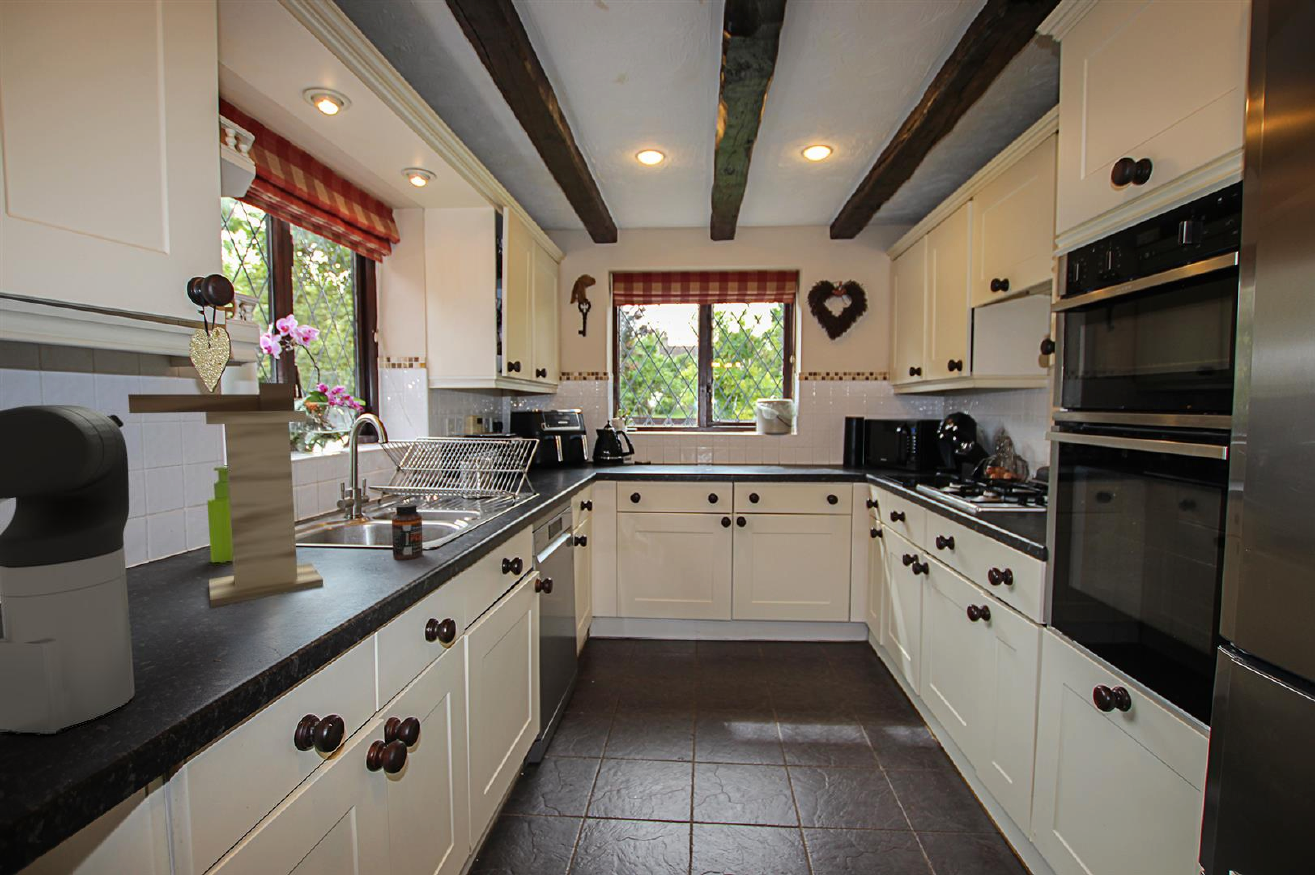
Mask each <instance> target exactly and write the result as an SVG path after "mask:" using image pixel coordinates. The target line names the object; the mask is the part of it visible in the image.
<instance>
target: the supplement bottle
mask: <svg viewBox="0 0 1315 875" xmlns="http://www.w3.org/2000/svg"><path fill="white" fill-rule="evenodd" d="M395 507H396V508H395V509H396V510H395V511H396V514H395V515H393V516H392V517H391V532H392V539H391V540H392V558H394V559H396V558H397V559H396V560H411V559H410V558H412V559H415V558H418V557H421V556H422V555H423V552H424V551H423V550H424V549H423V520H422V519H423V518H422V515H421V514H420V513H419V512H418V507H417V504H416V503H403V504H402V503H401V504H396V506H395Z"/></svg>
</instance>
